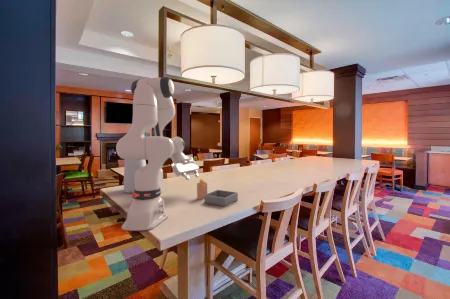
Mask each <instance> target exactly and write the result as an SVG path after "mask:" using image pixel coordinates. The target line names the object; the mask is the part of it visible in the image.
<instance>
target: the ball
mask: <svg viewBox="0 0 450 299" xmlns="http://www.w3.org/2000/svg"><path fill="white" fill-rule="evenodd" d="M204 182H205V179H204V178H200V179H199V182H198V183H201V184H203V183H204Z"/></svg>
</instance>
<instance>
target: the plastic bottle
mask: <svg viewBox="0 0 450 299" xmlns="http://www.w3.org/2000/svg"><path fill="white" fill-rule="evenodd" d="M146 165H147V161H146V160H128V159H124V165H123V167H124V168H123V170H124V171H123V192H124V193H125V194H132V193H134V190H135V173H136V171H137V170H138V169H140V168H142V167H144V166H146Z"/></svg>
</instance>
